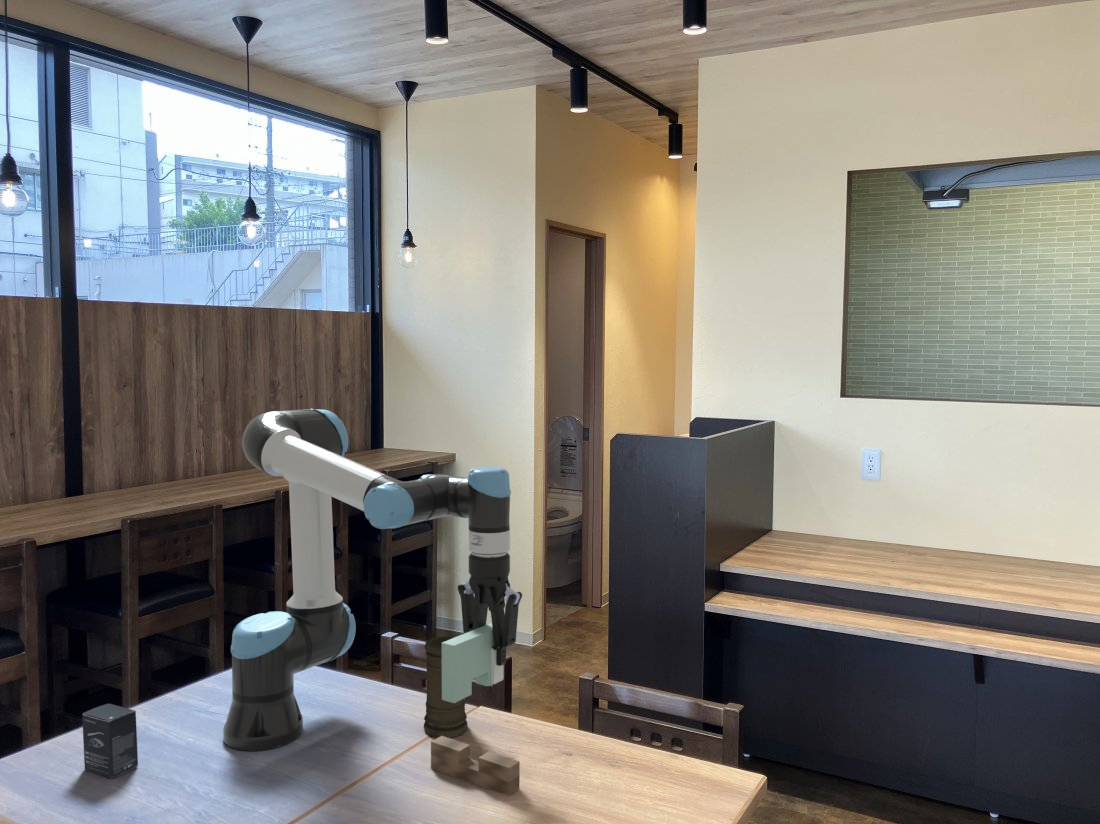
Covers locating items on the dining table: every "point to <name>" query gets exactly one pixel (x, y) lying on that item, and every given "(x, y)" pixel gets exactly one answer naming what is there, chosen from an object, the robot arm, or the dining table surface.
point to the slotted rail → (475, 766)
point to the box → (110, 740)
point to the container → (439, 712)
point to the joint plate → (466, 663)
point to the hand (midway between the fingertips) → (489, 679)
